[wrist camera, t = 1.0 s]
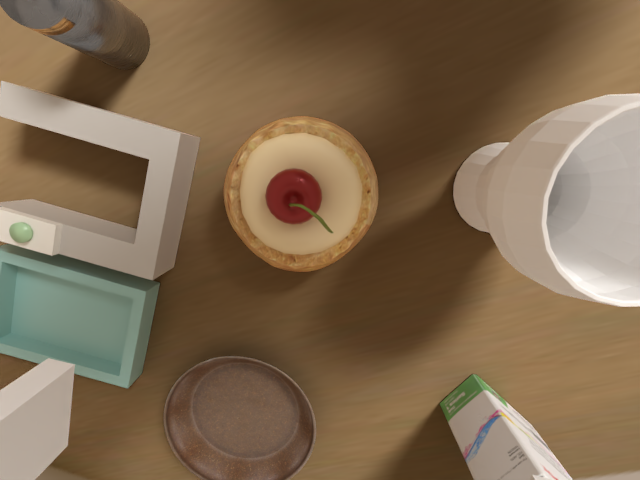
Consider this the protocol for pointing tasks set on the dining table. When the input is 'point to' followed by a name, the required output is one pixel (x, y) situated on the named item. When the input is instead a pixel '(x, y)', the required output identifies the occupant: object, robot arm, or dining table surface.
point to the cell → (87, 27)
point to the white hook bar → (91, 232)
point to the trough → (75, 314)
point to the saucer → (239, 421)
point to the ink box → (497, 436)
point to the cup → (565, 199)
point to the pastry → (301, 193)
